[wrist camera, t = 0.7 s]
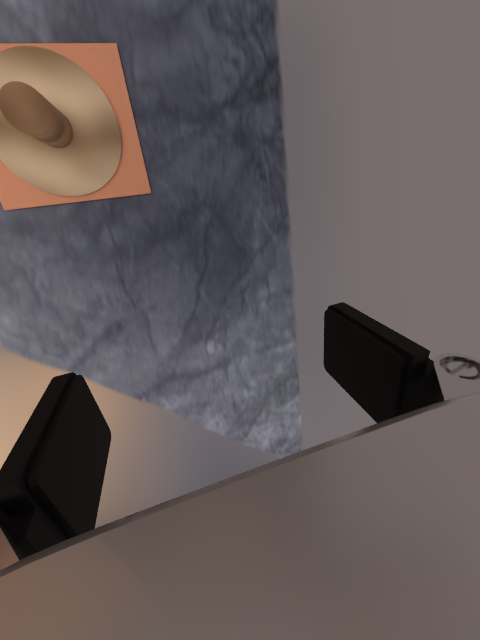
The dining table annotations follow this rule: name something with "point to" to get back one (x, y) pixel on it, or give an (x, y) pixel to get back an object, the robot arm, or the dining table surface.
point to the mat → (109, 76)
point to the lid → (55, 123)
